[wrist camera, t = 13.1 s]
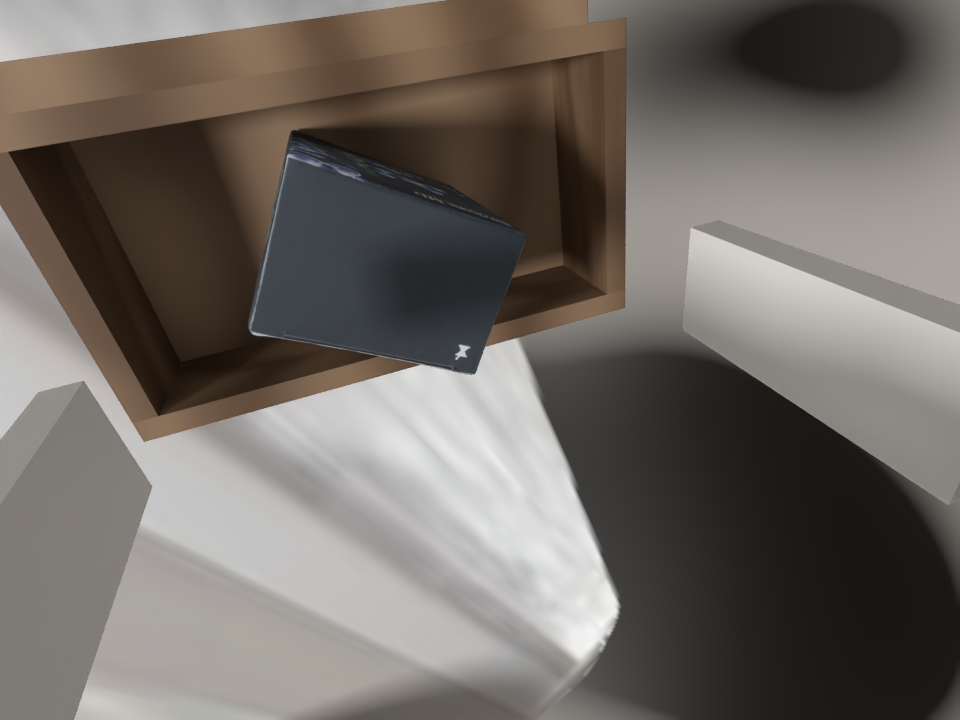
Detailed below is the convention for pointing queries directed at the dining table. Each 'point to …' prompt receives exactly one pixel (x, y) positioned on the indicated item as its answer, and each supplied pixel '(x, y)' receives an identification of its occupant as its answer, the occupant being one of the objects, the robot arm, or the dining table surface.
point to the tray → (257, 167)
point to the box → (380, 260)
